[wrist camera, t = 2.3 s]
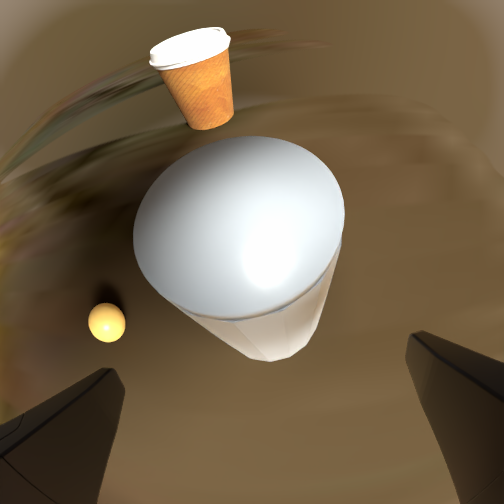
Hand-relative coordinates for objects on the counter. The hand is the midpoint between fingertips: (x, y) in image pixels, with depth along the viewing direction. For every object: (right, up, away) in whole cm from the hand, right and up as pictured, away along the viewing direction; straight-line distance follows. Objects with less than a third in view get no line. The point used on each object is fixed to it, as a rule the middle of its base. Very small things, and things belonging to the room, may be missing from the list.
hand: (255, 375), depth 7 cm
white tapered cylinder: (+1, -1, +12) cm, 13 cm away
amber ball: (-11, -3, +14) cm, 18 cm away
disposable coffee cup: (-6, +21, +26) cm, 34 cm away
